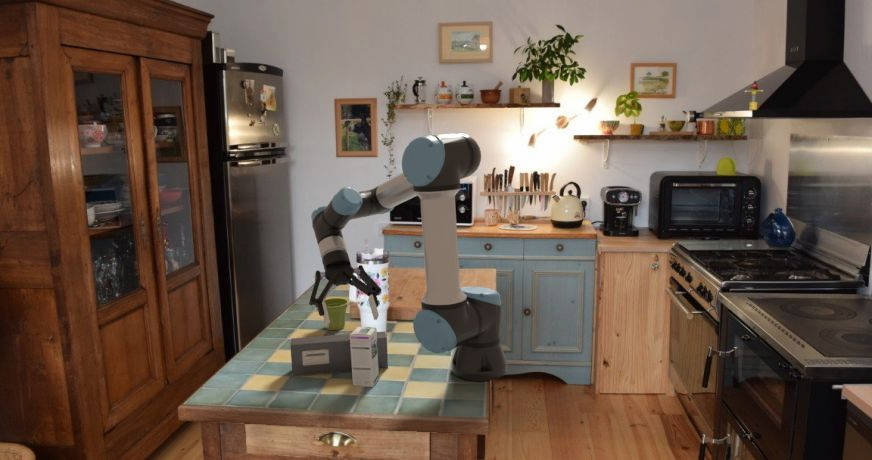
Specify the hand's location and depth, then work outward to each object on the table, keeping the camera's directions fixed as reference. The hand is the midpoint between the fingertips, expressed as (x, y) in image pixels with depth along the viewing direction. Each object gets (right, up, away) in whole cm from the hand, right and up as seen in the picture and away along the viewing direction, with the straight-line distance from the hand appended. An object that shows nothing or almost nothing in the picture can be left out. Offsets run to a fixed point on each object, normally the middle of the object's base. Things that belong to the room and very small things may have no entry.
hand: (352, 321), depth 184 cm
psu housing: (-4, -14, +5) cm, 15 cm away
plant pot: (-11, -7, +39) cm, 41 cm away
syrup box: (+4, -16, -4) cm, 17 cm away
